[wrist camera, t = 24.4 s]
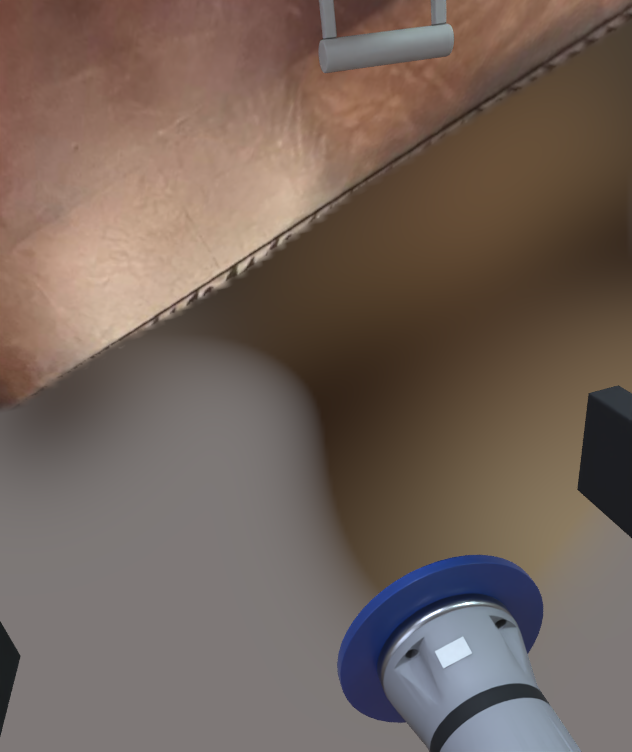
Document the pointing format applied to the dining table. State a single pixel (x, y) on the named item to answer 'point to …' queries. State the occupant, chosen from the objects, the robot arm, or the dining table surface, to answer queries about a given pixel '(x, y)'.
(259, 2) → the dining table surface
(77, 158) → the dining table surface
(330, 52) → the drawer
